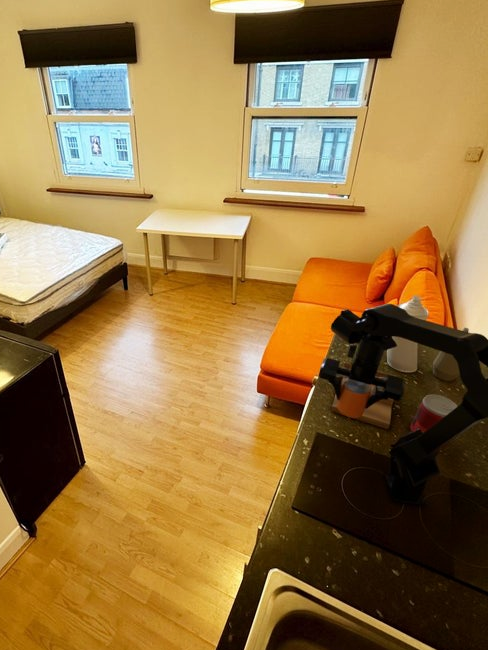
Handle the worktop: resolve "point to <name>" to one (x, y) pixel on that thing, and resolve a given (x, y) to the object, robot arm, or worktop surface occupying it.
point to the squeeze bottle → (446, 365)
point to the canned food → (431, 412)
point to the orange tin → (353, 398)
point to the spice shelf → (372, 406)
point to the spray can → (407, 350)
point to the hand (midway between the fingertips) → (352, 403)
